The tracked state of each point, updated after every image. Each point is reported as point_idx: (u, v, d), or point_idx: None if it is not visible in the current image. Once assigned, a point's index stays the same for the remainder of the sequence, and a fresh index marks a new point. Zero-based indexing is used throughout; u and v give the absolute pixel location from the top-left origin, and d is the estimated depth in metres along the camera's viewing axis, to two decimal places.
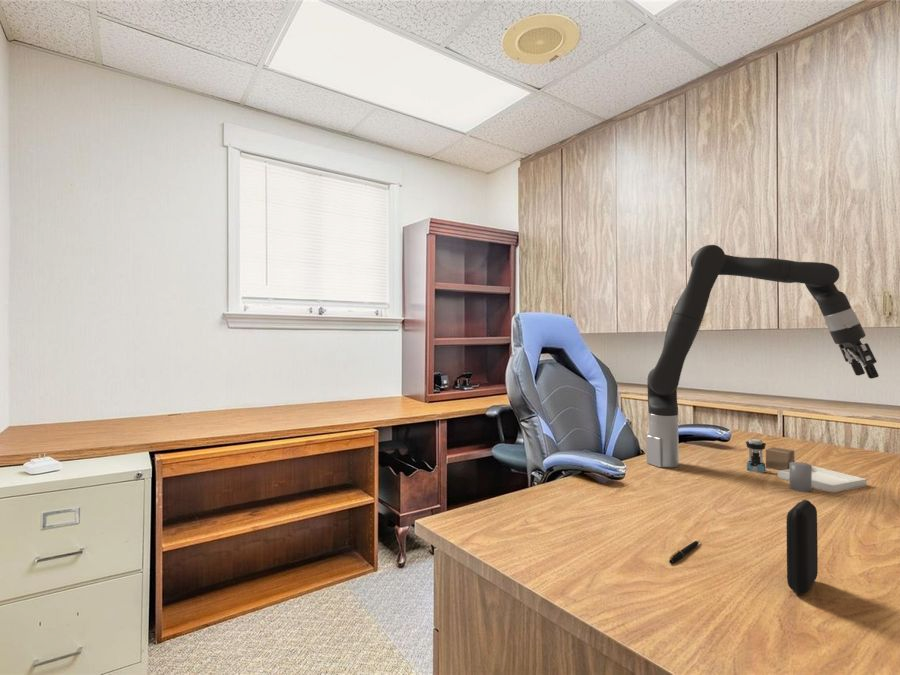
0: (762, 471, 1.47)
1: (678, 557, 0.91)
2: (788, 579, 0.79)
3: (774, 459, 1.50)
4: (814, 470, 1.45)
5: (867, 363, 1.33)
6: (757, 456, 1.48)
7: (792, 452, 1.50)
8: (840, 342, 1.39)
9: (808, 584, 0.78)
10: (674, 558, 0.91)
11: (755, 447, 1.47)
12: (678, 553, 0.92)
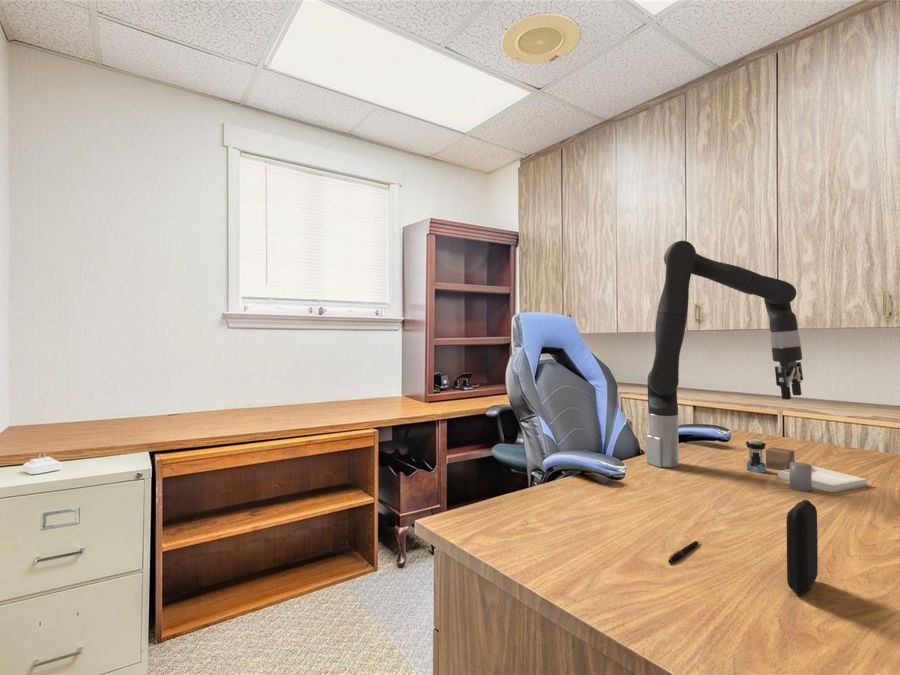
0: (762, 471, 1.47)
1: (677, 557, 0.92)
2: (788, 579, 0.79)
3: (774, 459, 1.50)
4: (814, 470, 1.45)
5: (777, 384, 1.42)
6: (757, 456, 1.48)
7: (792, 452, 1.50)
8: (773, 359, 1.47)
9: (808, 584, 0.78)
10: (673, 558, 0.91)
11: (755, 447, 1.47)
12: (677, 553, 0.92)
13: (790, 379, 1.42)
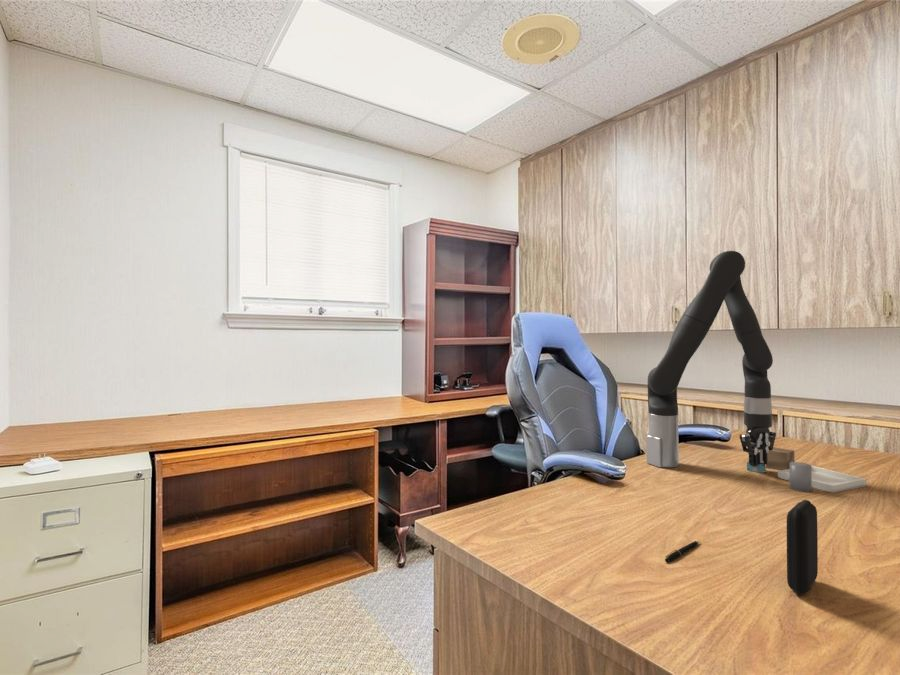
0: (762, 471, 1.47)
1: (674, 556, 0.92)
2: (788, 579, 0.79)
3: (774, 459, 1.50)
4: (814, 470, 1.45)
5: (744, 450, 1.47)
6: (757, 456, 1.48)
7: (792, 452, 1.50)
8: None
9: (808, 584, 0.78)
10: (670, 557, 0.91)
11: None
12: (675, 552, 0.93)
13: (757, 447, 1.46)
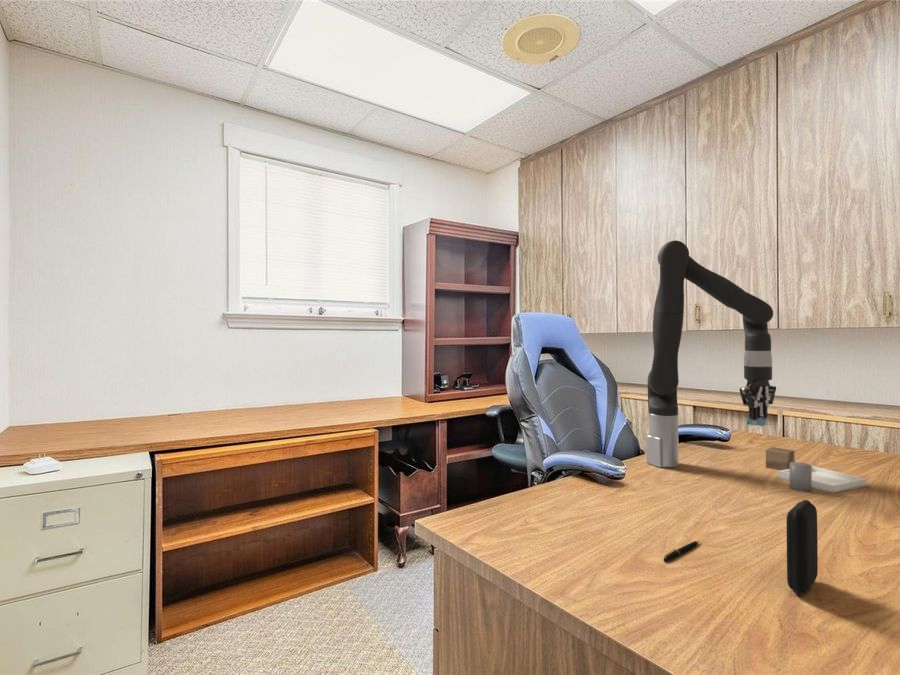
0: (762, 424, 1.47)
1: (673, 556, 0.92)
2: (788, 579, 0.79)
3: (774, 459, 1.50)
4: (814, 470, 1.45)
5: (744, 403, 1.47)
6: (757, 409, 1.47)
7: (792, 452, 1.50)
8: (744, 377, 1.50)
9: (808, 584, 0.78)
10: (669, 556, 0.92)
11: None
12: (674, 552, 0.93)
13: (757, 399, 1.46)
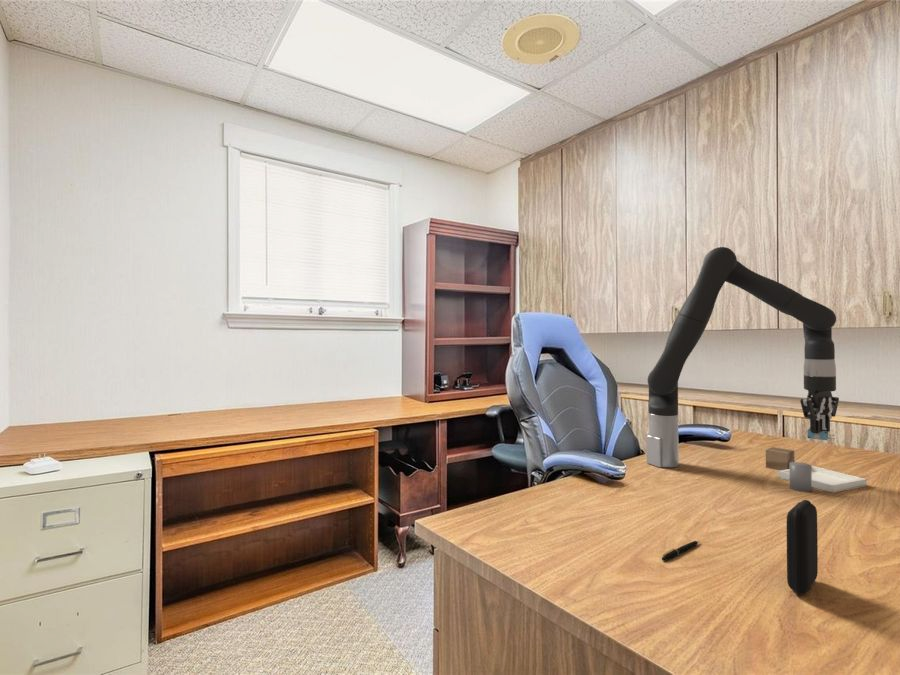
0: (825, 438, 1.36)
1: (672, 555, 0.92)
2: (788, 579, 0.79)
3: (774, 459, 1.50)
4: (814, 470, 1.45)
5: (805, 416, 1.36)
6: None
7: (792, 452, 1.50)
8: (804, 387, 1.39)
9: (808, 584, 0.78)
10: (667, 556, 0.92)
11: None
12: (673, 551, 0.93)
13: (819, 412, 1.35)
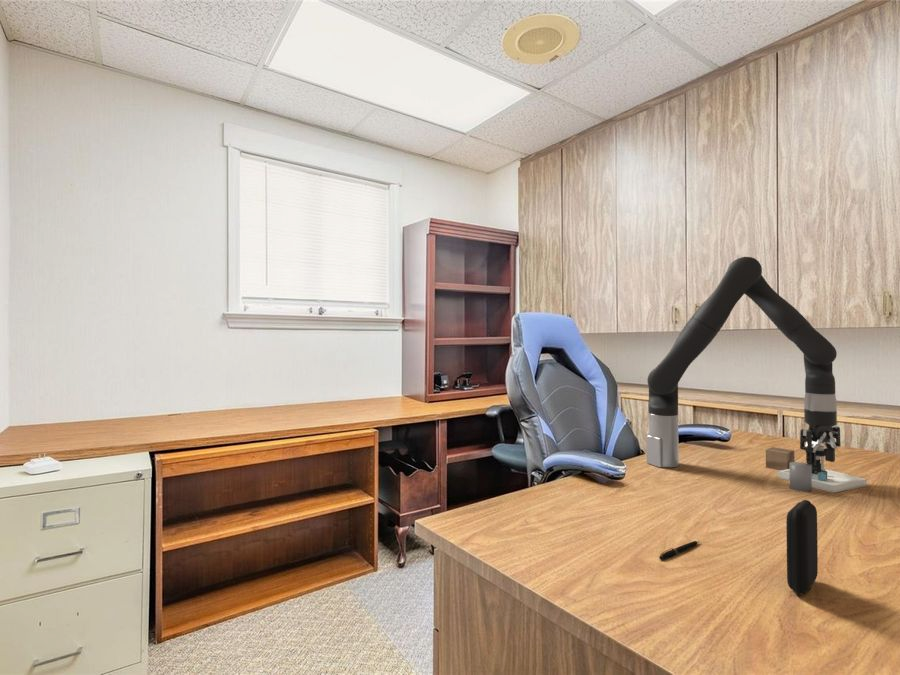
0: (823, 479, 1.36)
1: (670, 554, 0.93)
2: (788, 579, 0.79)
3: (774, 459, 1.50)
4: None
5: (801, 447, 1.36)
6: (818, 463, 1.37)
7: (792, 452, 1.50)
8: None
9: (808, 584, 0.78)
10: (665, 555, 0.92)
11: None
12: (671, 550, 0.94)
13: (817, 444, 1.35)
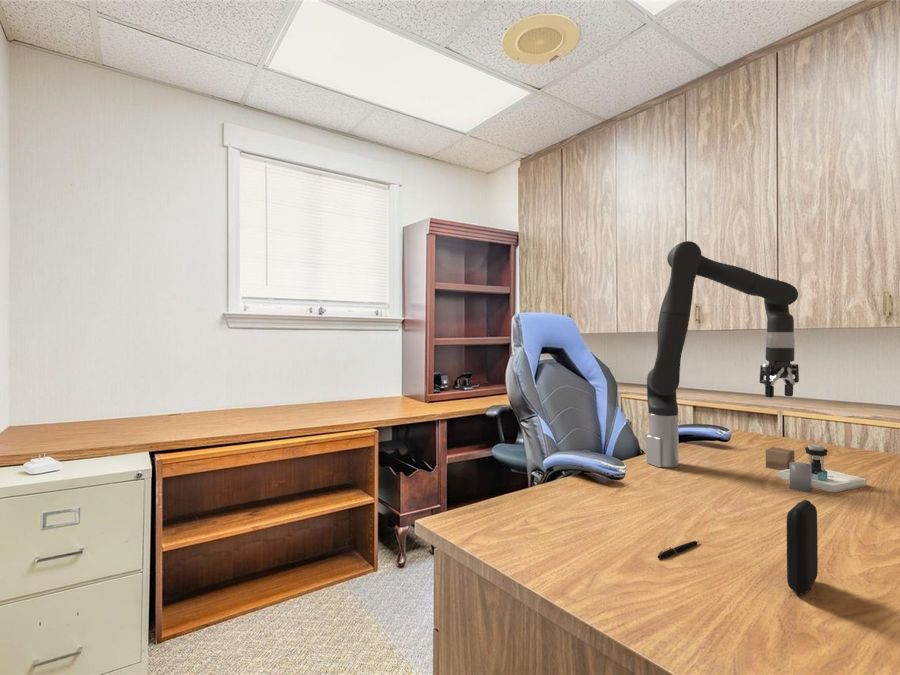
0: (823, 479, 1.36)
1: (668, 553, 0.93)
2: (788, 579, 0.79)
3: (774, 459, 1.50)
4: None
5: (760, 381, 1.47)
6: (818, 463, 1.37)
7: (792, 452, 1.50)
8: None
9: (808, 584, 0.78)
10: (663, 554, 0.93)
11: (815, 453, 1.36)
12: (669, 550, 0.94)
13: (775, 378, 1.46)
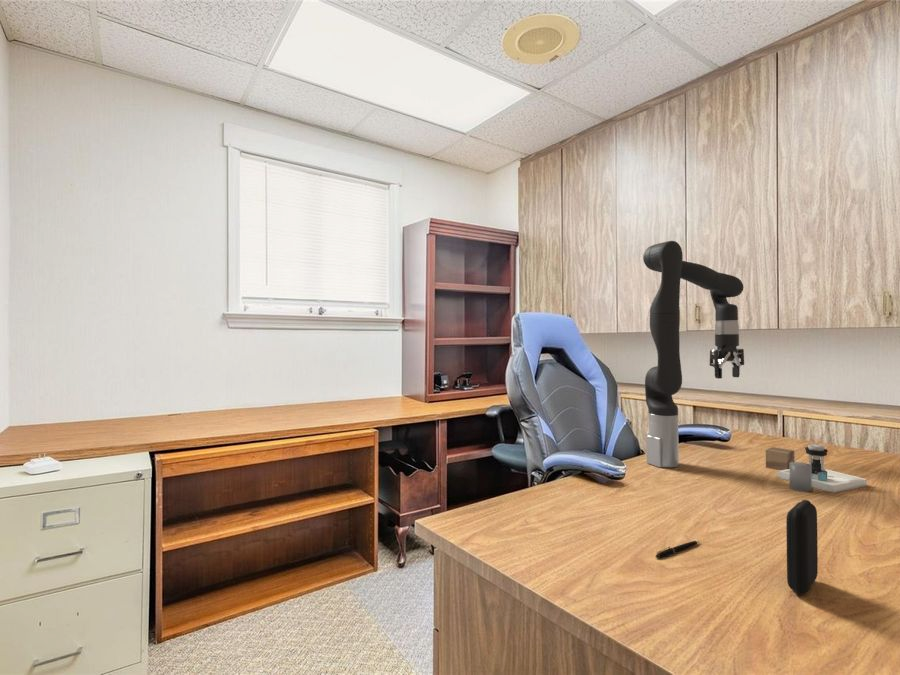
0: (823, 479, 1.36)
1: (667, 553, 0.93)
2: (788, 579, 0.79)
3: (774, 459, 1.50)
4: None
5: (710, 364, 1.66)
6: (818, 463, 1.37)
7: (792, 452, 1.50)
8: (715, 344, 1.70)
9: (808, 584, 0.78)
10: (661, 553, 0.93)
11: (815, 453, 1.36)
12: (668, 549, 0.94)
13: (723, 361, 1.65)
